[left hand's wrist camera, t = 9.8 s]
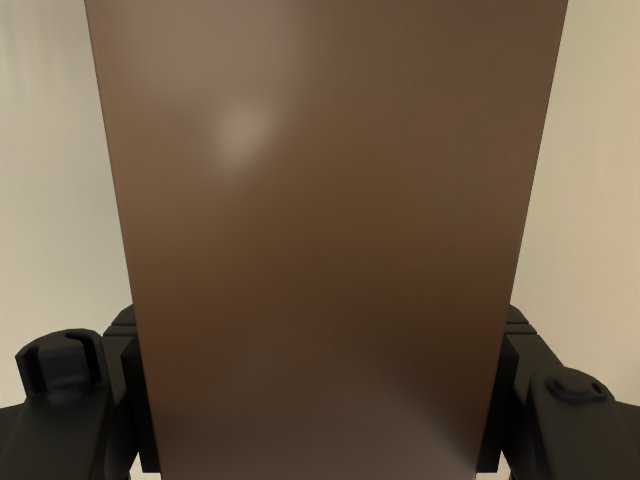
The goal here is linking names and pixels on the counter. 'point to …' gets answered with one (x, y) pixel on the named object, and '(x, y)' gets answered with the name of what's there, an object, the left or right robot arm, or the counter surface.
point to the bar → (322, 222)
